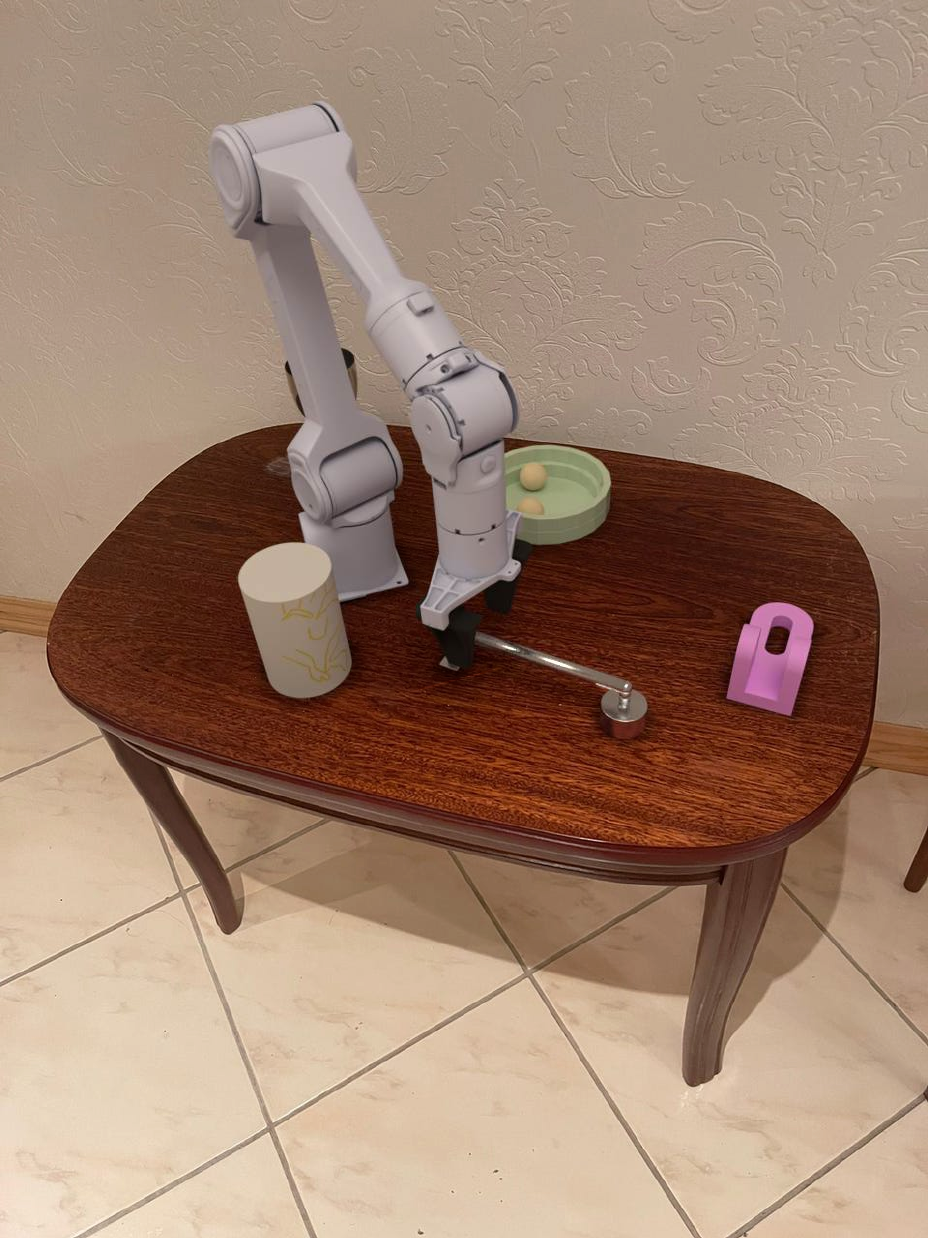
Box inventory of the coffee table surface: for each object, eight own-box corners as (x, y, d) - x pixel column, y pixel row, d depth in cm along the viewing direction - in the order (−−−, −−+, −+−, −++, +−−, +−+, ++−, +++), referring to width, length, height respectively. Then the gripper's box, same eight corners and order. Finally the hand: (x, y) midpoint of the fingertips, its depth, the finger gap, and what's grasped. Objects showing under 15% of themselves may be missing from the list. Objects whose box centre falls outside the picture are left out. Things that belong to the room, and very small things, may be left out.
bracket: (790, 716, 77) (806, 660, 73) (726, 698, 79) (737, 643, 75) (814, 621, 86) (830, 565, 81) (756, 607, 88) (768, 552, 83)
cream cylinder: (310, 710, 81) (283, 615, 73) (250, 675, 85) (218, 580, 77) (368, 658, 86) (350, 562, 78) (309, 626, 90) (285, 531, 82)
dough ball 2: (521, 535, 98) (520, 511, 96) (512, 518, 100) (511, 495, 98) (548, 528, 98) (548, 505, 96) (538, 512, 101) (538, 489, 99)
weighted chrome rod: (652, 713, 79) (656, 674, 75) (635, 745, 76) (640, 706, 73) (455, 646, 86) (451, 608, 83) (434, 673, 84) (430, 635, 80)
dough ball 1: (525, 498, 103) (524, 474, 101) (516, 483, 105) (515, 460, 103) (551, 492, 104) (551, 468, 101) (541, 477, 106) (541, 454, 104)
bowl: (504, 560, 96) (503, 531, 93) (466, 488, 106) (464, 459, 103) (629, 530, 98) (632, 501, 95) (580, 463, 109) (581, 434, 106)
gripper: (472, 580, 65) (481, 704, 74) (554, 478, 74) (553, 599, 83) (391, 556, 68) (409, 678, 77) (479, 460, 77) (486, 579, 86)
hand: (479, 636), depth 80 cm, fingers open, 7 cm apart
